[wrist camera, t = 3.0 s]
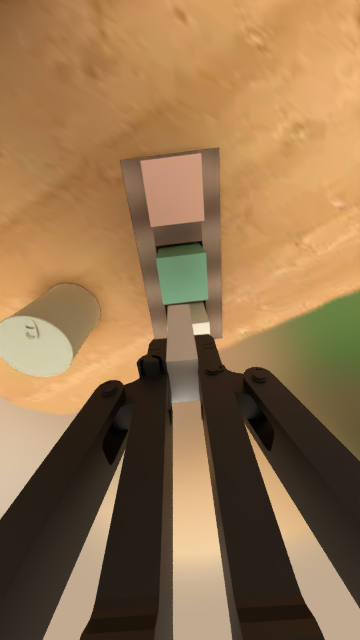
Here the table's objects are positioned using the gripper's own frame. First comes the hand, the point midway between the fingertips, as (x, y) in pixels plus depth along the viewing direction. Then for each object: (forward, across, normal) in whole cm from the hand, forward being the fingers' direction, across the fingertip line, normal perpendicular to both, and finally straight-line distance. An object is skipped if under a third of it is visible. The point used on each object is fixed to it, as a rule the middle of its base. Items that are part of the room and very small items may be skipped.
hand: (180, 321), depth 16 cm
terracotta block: (+16, 0, +9) cm, 18 cm away
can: (+19, -18, -6) cm, 27 cm away
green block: (+16, +1, +1) cm, 16 cm away
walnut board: (+19, +1, +1) cm, 19 cm away
